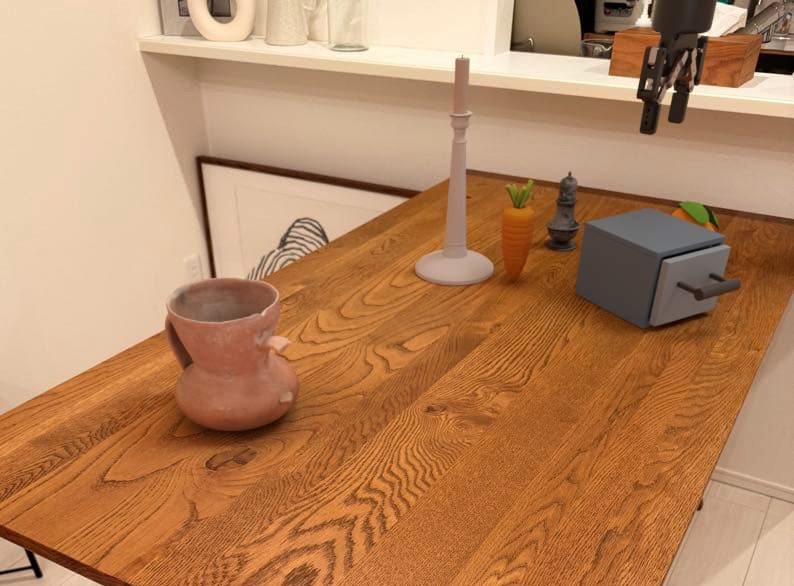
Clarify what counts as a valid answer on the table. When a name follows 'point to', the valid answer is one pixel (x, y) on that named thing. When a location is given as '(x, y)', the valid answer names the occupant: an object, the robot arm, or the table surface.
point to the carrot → (517, 230)
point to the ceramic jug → (229, 354)
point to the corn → (696, 214)
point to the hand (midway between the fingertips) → (661, 128)
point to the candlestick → (456, 205)
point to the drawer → (690, 283)
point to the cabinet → (633, 258)
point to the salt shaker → (564, 217)
